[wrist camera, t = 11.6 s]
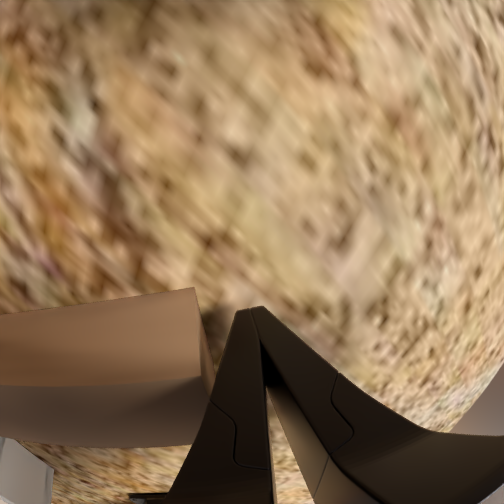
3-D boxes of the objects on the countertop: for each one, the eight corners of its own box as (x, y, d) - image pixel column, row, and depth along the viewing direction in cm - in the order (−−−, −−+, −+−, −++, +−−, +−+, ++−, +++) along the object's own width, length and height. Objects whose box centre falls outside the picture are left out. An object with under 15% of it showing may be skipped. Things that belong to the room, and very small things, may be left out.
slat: (212, 357, 11) (224, 440, 8) (-36, 370, 10) (-56, 421, 7) (194, 282, 9) (200, 375, 6) (-72, 318, 8) (-102, 370, 5)
